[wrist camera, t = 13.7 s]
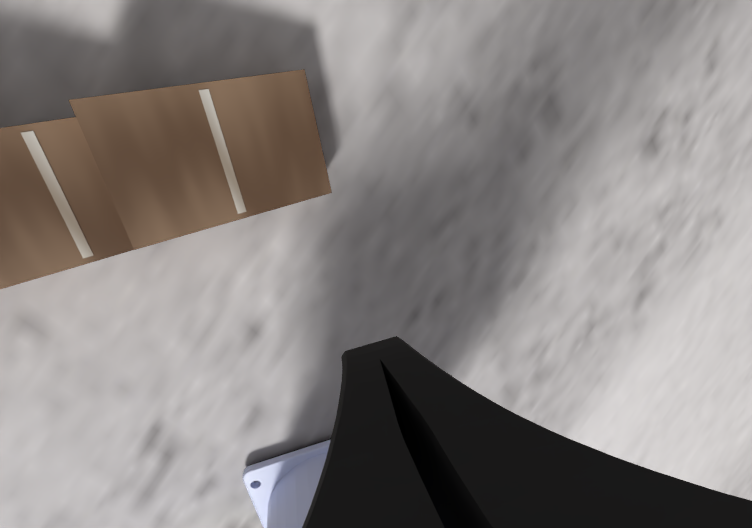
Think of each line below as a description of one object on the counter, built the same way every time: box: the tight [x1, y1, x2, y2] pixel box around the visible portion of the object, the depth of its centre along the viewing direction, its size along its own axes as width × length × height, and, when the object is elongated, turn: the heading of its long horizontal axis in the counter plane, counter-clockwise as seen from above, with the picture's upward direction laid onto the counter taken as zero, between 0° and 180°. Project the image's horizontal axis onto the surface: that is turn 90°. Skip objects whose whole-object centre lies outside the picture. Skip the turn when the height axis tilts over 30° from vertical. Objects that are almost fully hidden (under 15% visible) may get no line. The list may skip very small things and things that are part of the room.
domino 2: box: [69, 70, 332, 250], centre depth 14 cm, size 4×2×7 cm
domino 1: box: [0, 117, 134, 289], centre depth 13 cm, size 4×2×7 cm
